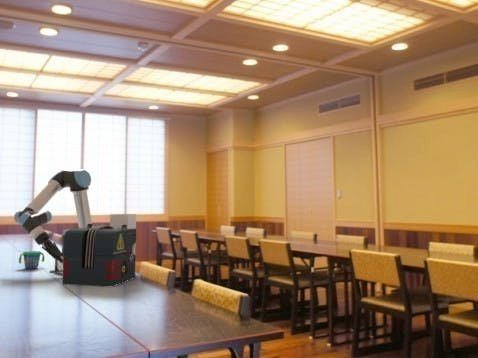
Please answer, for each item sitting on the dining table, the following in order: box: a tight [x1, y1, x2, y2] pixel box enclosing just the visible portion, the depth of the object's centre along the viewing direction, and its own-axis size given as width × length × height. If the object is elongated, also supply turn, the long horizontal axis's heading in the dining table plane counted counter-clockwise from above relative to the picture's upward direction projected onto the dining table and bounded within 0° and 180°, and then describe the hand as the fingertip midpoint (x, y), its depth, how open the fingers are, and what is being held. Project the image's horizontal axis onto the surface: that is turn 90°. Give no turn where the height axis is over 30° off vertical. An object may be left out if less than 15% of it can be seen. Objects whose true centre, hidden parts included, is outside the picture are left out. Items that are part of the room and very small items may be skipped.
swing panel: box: [57, 261, 63, 270], centre depth 277 cm, size 21×2×7 cm, turn 48°
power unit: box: [62, 223, 137, 287], centre depth 254 cm, size 28×28×30 cm
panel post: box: [49, 258, 63, 274], centre depth 285 cm, size 8×8×12 cm
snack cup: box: [18, 250, 45, 270], centre depth 300 cm, size 16×10×10 cm
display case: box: [109, 213, 137, 256], centre depth 283 cm, size 11×11×35 cm
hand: (67, 266), depth 271 cm, fingers closed
